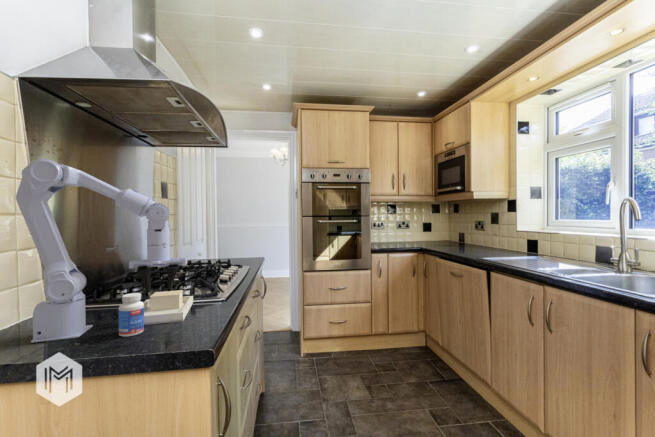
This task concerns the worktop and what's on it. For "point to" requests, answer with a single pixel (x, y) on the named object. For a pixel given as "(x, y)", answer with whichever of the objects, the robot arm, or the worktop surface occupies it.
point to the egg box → (166, 300)
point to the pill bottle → (131, 315)
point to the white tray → (167, 313)
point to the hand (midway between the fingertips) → (159, 291)
